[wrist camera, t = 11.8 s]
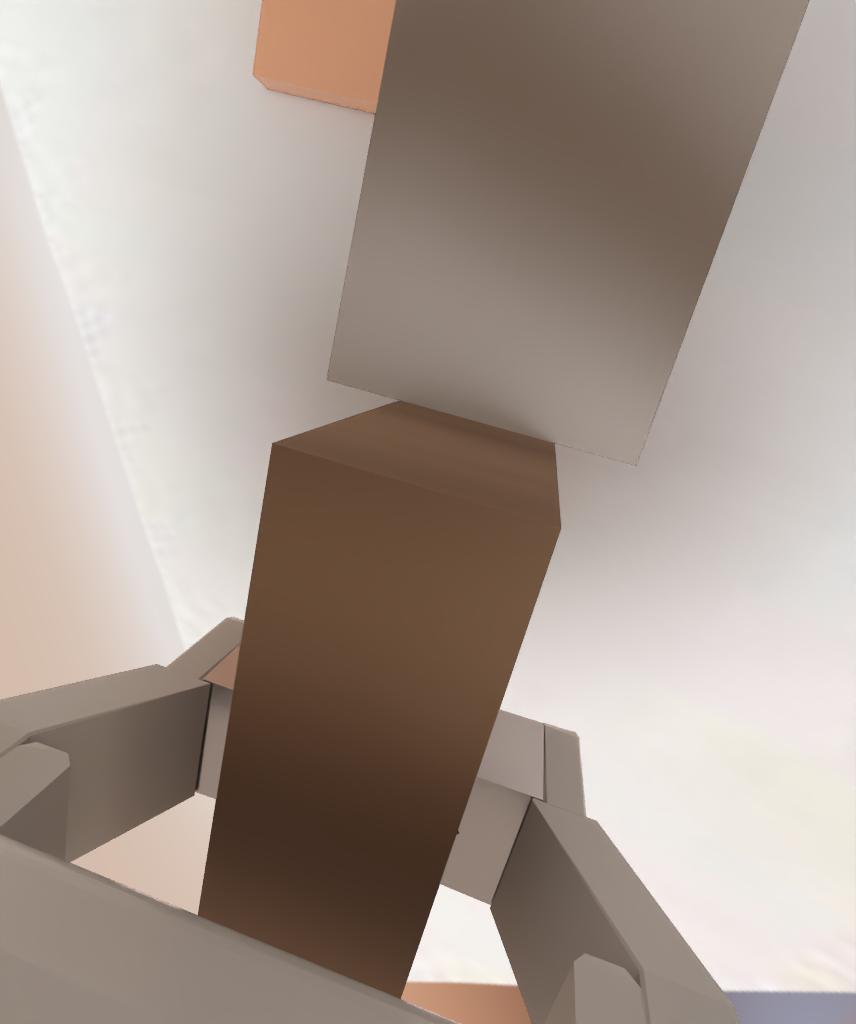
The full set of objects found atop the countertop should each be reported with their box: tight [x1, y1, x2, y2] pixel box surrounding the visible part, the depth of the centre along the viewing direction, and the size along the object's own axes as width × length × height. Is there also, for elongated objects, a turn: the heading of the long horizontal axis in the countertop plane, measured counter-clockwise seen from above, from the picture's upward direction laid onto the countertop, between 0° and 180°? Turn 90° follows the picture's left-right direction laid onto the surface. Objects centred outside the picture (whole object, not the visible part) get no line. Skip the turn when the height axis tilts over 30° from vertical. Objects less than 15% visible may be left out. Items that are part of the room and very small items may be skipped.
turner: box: [198, 0, 810, 999], centre depth 7 cm, size 16×5×5 cm, turn 166°
